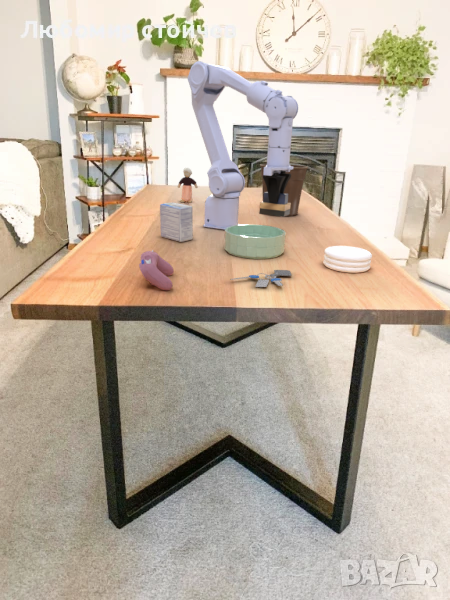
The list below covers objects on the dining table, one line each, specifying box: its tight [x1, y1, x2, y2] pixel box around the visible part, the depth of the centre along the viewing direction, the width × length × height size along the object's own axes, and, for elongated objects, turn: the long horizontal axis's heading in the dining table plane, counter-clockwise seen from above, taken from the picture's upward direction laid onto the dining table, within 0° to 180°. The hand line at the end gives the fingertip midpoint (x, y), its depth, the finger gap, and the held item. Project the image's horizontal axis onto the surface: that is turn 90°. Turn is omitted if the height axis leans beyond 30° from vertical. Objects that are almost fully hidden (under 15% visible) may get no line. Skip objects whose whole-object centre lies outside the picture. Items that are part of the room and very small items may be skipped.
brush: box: [258, 192, 291, 218], centre depth 117 cm, size 7×4×6 cm, turn 63°
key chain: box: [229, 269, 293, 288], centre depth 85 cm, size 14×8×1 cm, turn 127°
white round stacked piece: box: [322, 245, 373, 274], centre depth 96 cm, size 10×10×4 cm
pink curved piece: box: [138, 249, 175, 291], centre depth 81 cm, size 10×5×7 cm, turn 5°
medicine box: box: [159, 202, 194, 243], centre depth 113 cm, size 8×4×9 cm, turn 47°
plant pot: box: [259, 163, 309, 217], centre depth 151 cm, size 16×16×16 cm
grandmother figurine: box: [177, 167, 199, 204], centre depth 168 cm, size 8×4×13 cm, turn 95°
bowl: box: [223, 223, 287, 260], centre depth 105 cm, size 14×14×5 cm
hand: (275, 201), depth 117 cm, fingers closed on brush, 2 cm apart
